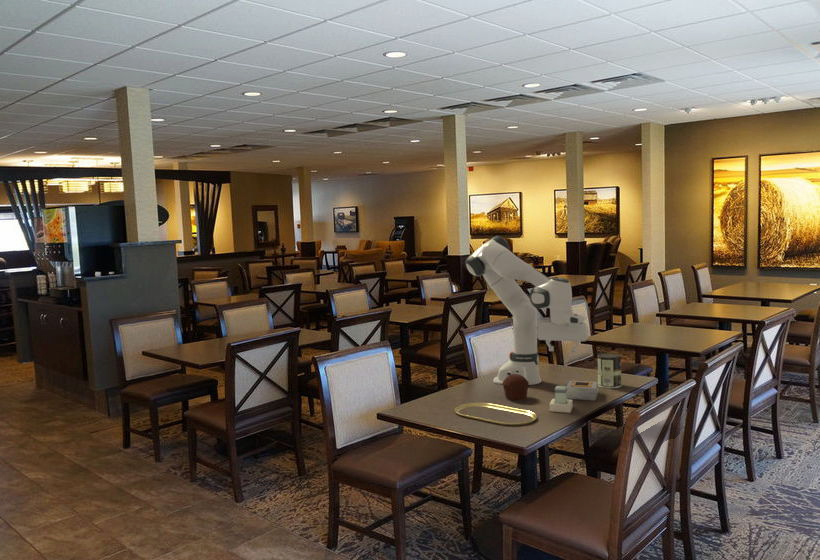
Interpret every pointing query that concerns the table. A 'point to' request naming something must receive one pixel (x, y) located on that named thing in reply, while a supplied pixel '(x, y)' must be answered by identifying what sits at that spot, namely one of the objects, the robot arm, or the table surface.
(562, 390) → the plug
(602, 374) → the coffee can
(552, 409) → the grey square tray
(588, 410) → the table surface
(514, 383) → the muffin
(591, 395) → the port
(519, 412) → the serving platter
